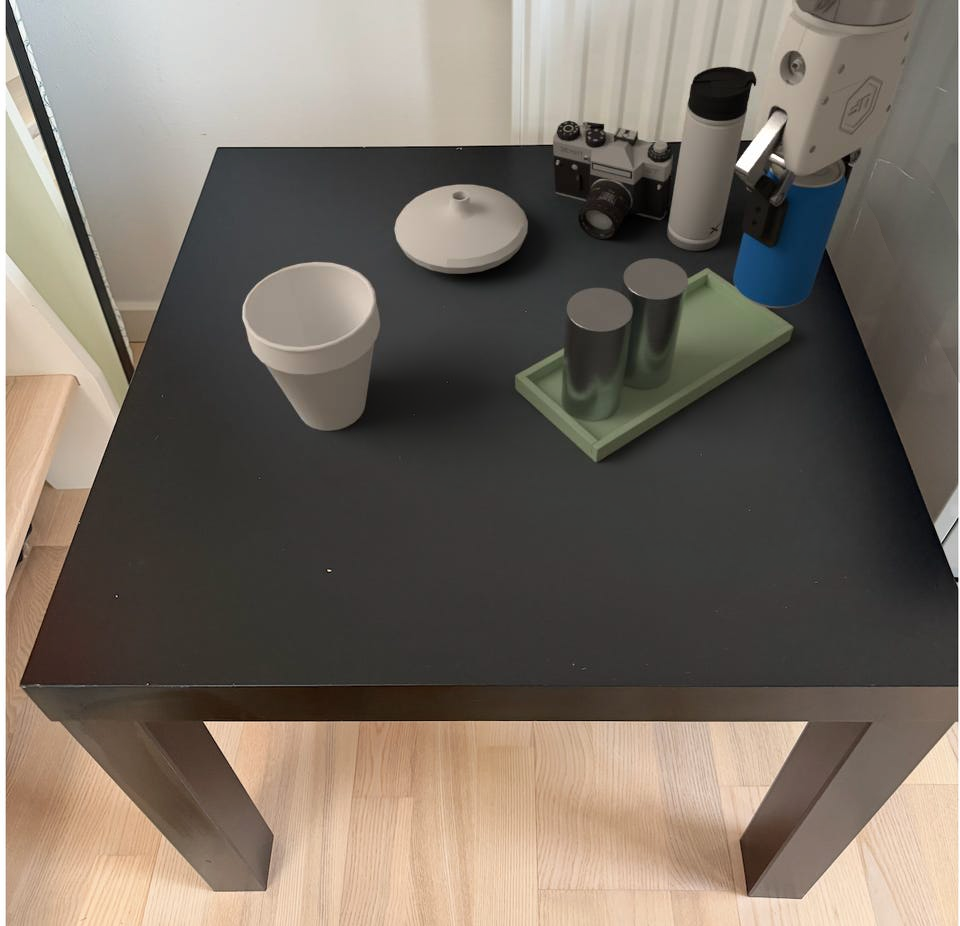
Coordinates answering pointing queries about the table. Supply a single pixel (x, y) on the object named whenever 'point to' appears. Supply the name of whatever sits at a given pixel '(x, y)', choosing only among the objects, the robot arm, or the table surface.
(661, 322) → the can
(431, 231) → the vase
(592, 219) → the camera
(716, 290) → the tray
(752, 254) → the beverage can
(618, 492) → the table surface
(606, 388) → the can
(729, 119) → the travel mug
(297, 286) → the white flower pot
